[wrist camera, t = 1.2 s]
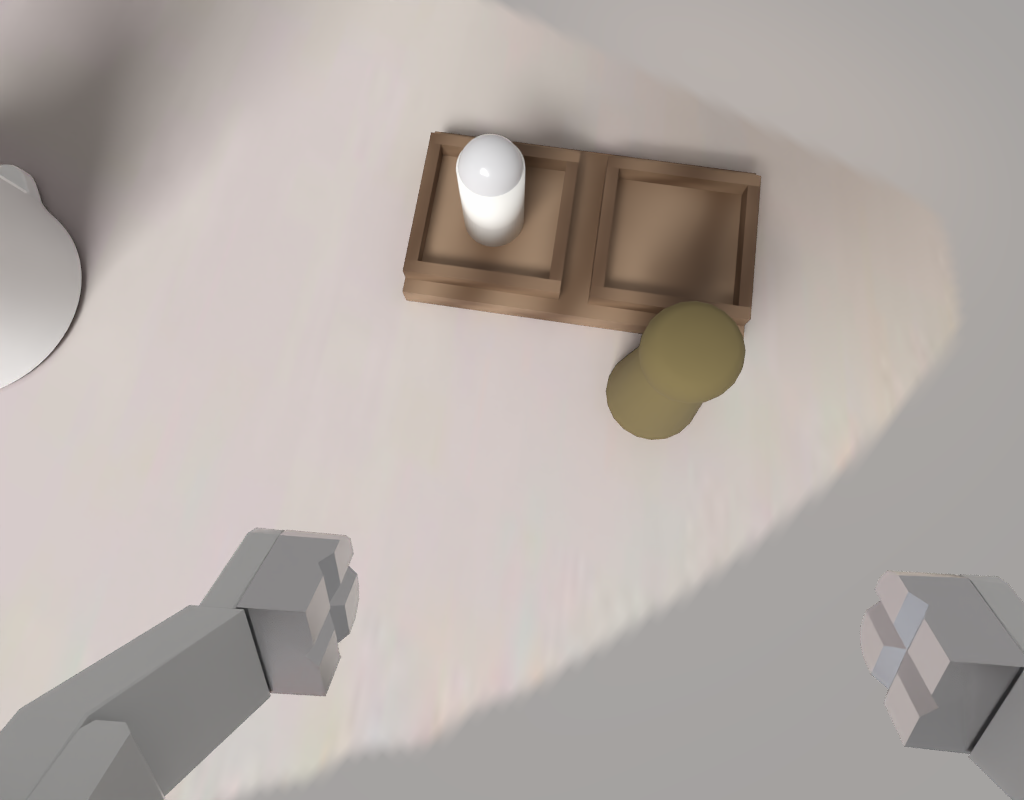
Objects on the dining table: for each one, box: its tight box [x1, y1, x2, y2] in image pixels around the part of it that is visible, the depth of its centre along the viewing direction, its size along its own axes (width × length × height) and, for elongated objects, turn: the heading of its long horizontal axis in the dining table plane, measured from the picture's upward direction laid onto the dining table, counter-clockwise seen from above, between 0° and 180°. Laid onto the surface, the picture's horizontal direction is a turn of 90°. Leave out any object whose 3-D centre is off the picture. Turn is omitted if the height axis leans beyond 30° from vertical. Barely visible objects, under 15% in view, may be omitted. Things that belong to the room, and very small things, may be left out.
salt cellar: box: [456, 134, 525, 247], centre depth 38 cm, size 4×4×8 cm
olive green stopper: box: [606, 301, 745, 440], centre depth 35 cm, size 6×6×11 cm
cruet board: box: [403, 131, 761, 339], centre depth 42 cm, size 22×12×3 cm, turn 81°
